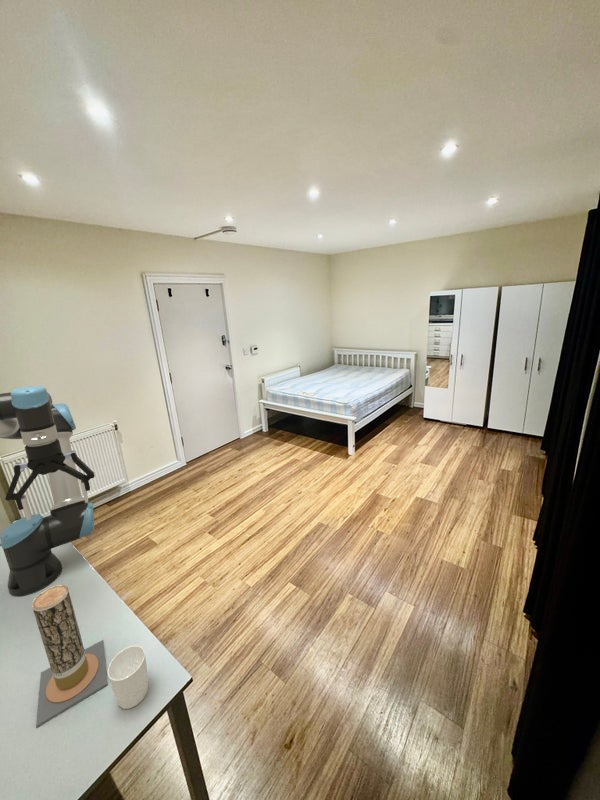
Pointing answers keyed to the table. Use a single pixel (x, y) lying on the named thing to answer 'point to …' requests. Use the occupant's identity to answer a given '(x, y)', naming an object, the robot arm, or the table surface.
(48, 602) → the brown bark cylinder
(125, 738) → the table surface
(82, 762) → the table surface
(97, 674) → the coaster
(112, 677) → the white cup
